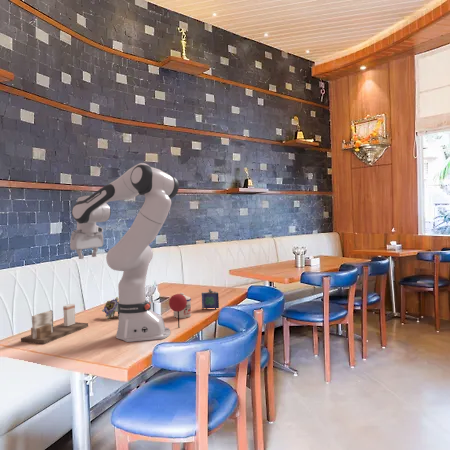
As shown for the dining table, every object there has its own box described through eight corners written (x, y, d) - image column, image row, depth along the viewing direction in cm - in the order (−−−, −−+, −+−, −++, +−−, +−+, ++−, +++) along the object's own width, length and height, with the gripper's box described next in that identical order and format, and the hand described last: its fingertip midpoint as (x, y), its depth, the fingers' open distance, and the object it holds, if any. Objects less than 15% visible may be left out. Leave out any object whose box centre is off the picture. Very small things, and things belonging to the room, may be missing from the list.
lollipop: (190, 326, 180) (189, 293, 180) (179, 330, 174) (178, 296, 174) (177, 324, 185) (176, 292, 185) (166, 328, 178) (165, 295, 178)
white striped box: (71, 323, 186) (71, 303, 186) (75, 323, 186) (74, 304, 185) (63, 326, 182) (63, 306, 181) (67, 326, 181) (66, 306, 181)
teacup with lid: (186, 319, 194) (185, 295, 194) (169, 318, 198) (169, 294, 197) (197, 313, 205) (196, 290, 205) (181, 312, 209) (180, 290, 209)
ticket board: (67, 324, 191) (66, 302, 190) (88, 326, 186) (87, 303, 186) (20, 341, 165) (19, 315, 165) (43, 344, 161) (42, 317, 161)
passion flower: (109, 329, 200) (95, 310, 202) (123, 320, 210) (110, 301, 211) (122, 318, 195) (107, 299, 196) (136, 309, 205) (122, 291, 206)
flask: (201, 309, 214) (200, 289, 214) (202, 308, 217) (202, 288, 217) (218, 309, 212) (217, 289, 212) (219, 308, 215) (219, 288, 215)
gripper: (77, 230, 184) (78, 260, 184) (105, 228, 203) (106, 255, 203) (66, 230, 186) (67, 260, 186) (94, 228, 205) (95, 255, 205)
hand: (87, 257), depth 195 cm, fingers open, 8 cm apart
